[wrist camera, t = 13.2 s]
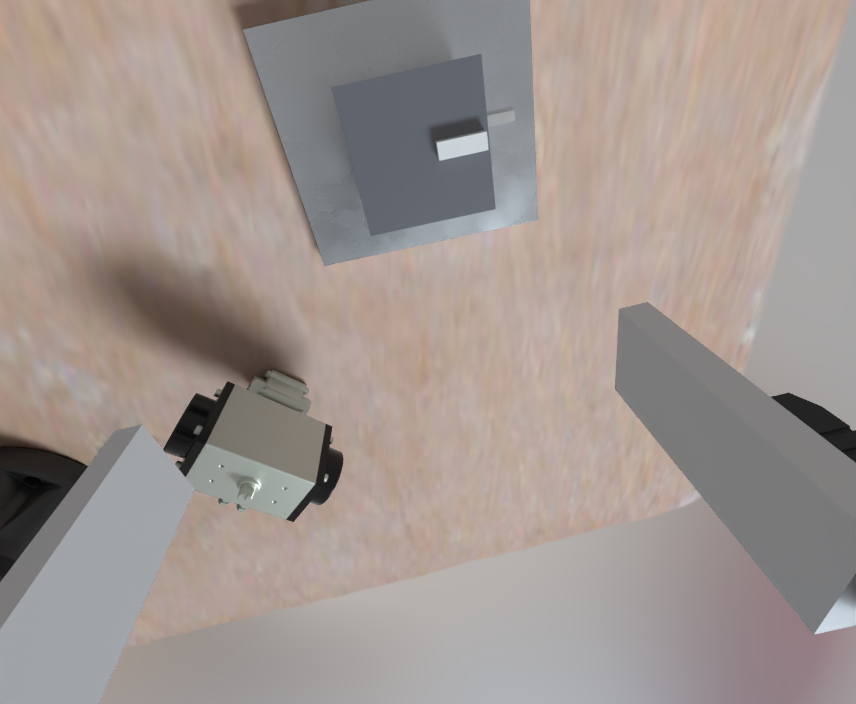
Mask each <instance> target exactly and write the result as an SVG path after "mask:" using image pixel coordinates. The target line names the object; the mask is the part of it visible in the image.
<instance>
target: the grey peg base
mask: <svg viewBox="0 0 856 704" xmlns="http://www.w3.org/2000/svg"><path fill="white" fill-rule="evenodd" d="M243 32H244V35H245V37H246V40H247V43H248V46H249V49H250V52H251V55H252V58H253V61H254V64H255V66H256V69H257V72H258V75H259V78H260V81H261V84H262V87H263V90H264V92H265V95H266V98H267V101H268V104H269V107H270V110H271V113H272V116H273V118H274V121H275V124H276V127H277V130H278V133H279V136H280V139H281V142H282V145H283V147H284V150H285V153H286V156H287V159H288V162H289V165H290V168H291V171H292V173H293V176H294V179H295V182H296V185H297V188H298V191H299V194H300V197H301V199H302V202H303V205H304V208H305V211H306V214H307V217H308V220H309V223H310V226H311V228H312V231H313V234H314V237H315V240H316V243H317V246H318V249H319V252H320V254H321V257H322V260H323V263H324V266H326V265H331V264H335V263H340V262H345V261H349V260H354V259H359V258H363V257H368V256H373V255H377V254H382V253H387V252H391V251H396V250H401V249H405V248H410V247H415V246H419V245H424V244H429V243H433V242H438V241H443V240H447V239H452V238H456V237H461V236H466V235H470V234H475V233H480V232H484V231H489V230H494V229H498V228H503V227H508V226H512V225H517V224H522V223H526V222H531V221H536V220H538V206H537V180H536V153H535V126H534V100H533V73H532V46H531V20H530V0H369V1H365V2H360V3H356V4H352V5H347V6H343V7H339V8H334V9H330V10H326V11H321V12H317V13H313V14H308V15H304V16H300V17H295V18H291V19H287V20H282V21H278V22H274V23H269V24H265V25H261V26H256V27H252V28H248V29H243ZM477 54H481V56H482V67H483V77H484V88H485V99H486V110H487V120H488V131H489V142H490V153H491V163H492V174H493V185H494V196H495V206H496V209H494V210H489V211H485V212H480V213H476V214H471V215H466V216H462V217H457V218H452V219H448V220H443V221H438V222H434V223H429V224H425V225H420V226H415V227H411V228H406V229H401V230H397V231H392V232H388V233H383V234H378V235H374V236H371V235H370V231H369V228H368V224H367V220H366V216H365V213H364V209H363V205H362V202H361V198H360V194H359V190H358V187H357V183H356V179H355V175H354V172H353V168H352V164H351V160H350V157H349V153H348V149H347V146H346V142H345V138H344V134H343V131H342V127H341V123H340V119H339V116H338V112H337V108H336V105H335V101H334V97H333V93H332V90H331V87H336V86H340V85H344V84H349V83H353V82H358V81H362V80H367V79H371V78H375V77H380V76H384V75H389V74H393V73H398V72H402V71H406V70H411V69H415V68H420V67H424V66H429V65H433V64H437V63H442V62H446V61H451V60H455V59H459V58H464V57H468V56H473V55H477Z"/></svg>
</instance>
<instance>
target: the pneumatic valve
mask: <svg viewBox="0 0 856 704" xmlns="http://www.w3.org/2000/svg"><path fill="white" fill-rule="evenodd" d="M265 376H266V377H267V379H266V380H264V379H262V378H260V377H258V376H254V378H253V379H252V381H251V383H250V384H249V386H248V388H247V389H244V388H242V387H240V386H237V385H235V384H233V383H230V382H228V381H227V383H226V385H225V386H224V388H223V390H220V389H217V391H216V392H215V394H214V396H216V397H218V398H217V400H213V399H211V398H208V397H206V396H203V395H201V394H198V393H196V394H195V395H194V397H193V398H192V400H191V402H190V403H189V405H188V407H187V408H186V410H185V412H184V413H183V415H182V417H181V419H180V420H179V422H178V424H177V425H176V427H175V429H174V431H173V432H172V434H171V436H170V438H169V440H168V441H167V443H166V445H165V447H164V449H163V450H164V452H166V453H169V454H172V455H175V456H178V457H181V458H183V461H182V462H180V461H177V462H176V464H175V465H176V466H177V468H178V469H179V470H180V471H181V472H182V474H183V475H184V476H185V477H186V479H187V480H188V481H189V482H190V483H191V485H192V486H193V487H194V488H195V491H199V492H202V493H205V494H208V495H211V496H214V497H217V498H219V500H218V501H219V504H220V505H221V506H227V505H228V504H229V503H230V502H233V503H236V504H237V509H238V510H239V511H240V512H244V511H246V510H247V509H248V508H252V509H255V510H258V511H261V512H264V513H267V514H270V515H273V516H276V517H280V518H283V519H286V520H289V521H292V522H294V521H295V519H296V518H297V517H298V516H299V515H300V514H301V512H302V511H303V510H304V509H305V508H306V506H307V505H308V504H309V503H310V502H311V503H314V504H317V505H321V504H323V503H324V502H325V501H326V500H327V499H328V498H329V497H330V495H331V494H332V492H333V490H334V488H335V486H336V484H337V482H338V480H339V477H340V474H341V471H342V466H343V454H342V453H341V452H340V451H337V450H335V449H332V448H330V447H329V445H330V444H331V443H332V442H333V439H334V438H333V437H331V432H332V426H330V425H327V424H325V423H323V422H320V421H318V420H316V419H314V418H311V417H309V416H307V413H308V411H309V408H310V405H311V401H310V400H309V399H307V398H304V397H302V396H303V394H306V393H308V392H309V390H308V388H306V385H305V384H303V383H301V382H299V381H297V380H295V379H292V378H290V377H288V376H286V375H284V374H282V373H279V372H277V371H275V370H272V371H270V370H268V371H267V373H266V374H265Z"/></svg>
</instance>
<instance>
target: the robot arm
mask: <svg viewBox="0 0 856 704" xmlns="http://www.w3.org/2000/svg"><path fill="white" fill-rule="evenodd" d="M615 390H616V391H617V392H618V393H619V395H620V396H621V397H622V398H623V400H624V401H625V402H626V403H627V404H628V406H629V407H630V408H631V409H632V411H633V412H634V413H635V414H636V416H637V417H638V418H639V419H640V421H641V422H642V423H643V424H644V425H645V427H646V428H647V429H648V430H649V432H650V433H651V434H652V435H653V437H654V438H655V439H656V440H657V442H658V443H659V444H660V445H661V446H662V448H663V449H664V450H665V451H666V453H667V454H668V455H669V456H670V458H671V459H672V460H673V461H674V463H675V464H676V465H677V466H678V468H679V469H680V470H681V471H682V472H683V474H684V475H685V476H686V477H687V479H688V480H689V481H690V482H691V484H692V485H693V486H694V487H695V489H696V490H697V491H698V492H699V493H700V495H701V496H702V497H703V498H704V500H705V501H706V502H707V503H708V504H709V506H710V507H711V508H712V510H713V511H714V512H715V513H716V514H717V516H718V517H719V518H720V519H721V521H722V522H723V523H724V524H725V525H726V527H727V528H728V529H729V530H730V532H731V533H732V534H733V535H734V537H735V538H736V539H737V540H738V542H739V543H740V544H741V545H742V547H743V548H744V549H745V550H746V552H747V553H748V554H749V555H750V556H751V558H752V559H753V560H754V561H755V563H756V564H757V565H758V566H759V568H760V569H761V570H762V571H763V573H764V574H765V575H766V576H767V578H768V579H769V580H770V581H771V582H772V584H773V585H774V586H775V587H776V589H777V590H778V591H779V592H780V594H781V595H782V596H783V597H784V599H785V600H786V601H787V602H788V603H789V605H790V606H791V607H792V608H793V610H794V611H795V612H796V613H797V615H798V616H799V617H800V618H801V620H802V621H803V622H804V623H805V624H806V626H807V627H808V628H809V629H810V631H811V632H812V633H813V634H818V633H823V632H827V631H832V630H836V629H840V628H845V627H850V626H854V625H856V431H852V430H851V429H850V426H849V425H847V424H846V423H844V422H843V421H841V420H840V419H839V418H837V417H836V416H834V415H833V414H832V413H830V412H829V411H827V410H826V409H825V408H823V407H821V406H819V405H817V404H814V403H812V402H809V401H807V400H805V399H802V398H800V397H797V396H795V395H793V394H790V393H786V394H782V395H778V396H773V397H770V396H768V395H767V394H766V393H764V392H763V391H762V390H761V389H760V388H758V387H757V386H756V385H754V384H753V383H752V382H750V381H749V380H748V379H747V378H745V377H744V376H743V375H741V374H740V373H739V372H737V371H736V370H735V369H734V368H732V367H731V366H730V365H728V364H727V363H726V362H725V361H723V360H722V359H721V358H719V357H718V356H717V355H715V354H714V353H713V352H712V351H710V350H709V349H708V348H706V347H705V346H704V345H703V344H701V343H700V342H699V341H697V340H696V339H695V338H693V337H692V336H691V335H690V334H688V333H687V332H686V331H684V330H683V329H682V328H680V327H679V326H678V325H677V324H675V323H674V322H673V321H671V320H670V319H669V318H668V317H666V316H665V315H664V314H662V313H661V312H660V311H658V310H657V309H656V308H655V307H653V306H652V305H651V304H649V303H648V302H646V303H642V304H638V305H634V306H630V307H625V308H621V309H619V320H618V339H617V359H616V378H615ZM194 490H195V488H194V487H193V486H192V485H191V483H190V482H189V481H188V480H187V479H186V477H185V476H184V475H183V474H182V472H181V471H180V470H179V469H178V468H177V466H176V465H175V464H174V463H173V461H172V460H171V459H170V458H169V457H168V455H167V454H166V453H165V452H164V450H163V449H162V448H161V447H160V446H159V444H158V443H157V442H156V441H155V440H154V438H153V437H152V436H151V435H150V433H149V432H148V431H147V430H146V429H145V427H144V426H143V425H138V426H134V427H130V428H126V429H122V430H117V431H115V432H114V433H113V434H112V436H111V437H110V438H109V440H108V441H107V442H106V444H105V445H104V446H103V448H102V449H101V450H100V452H99V453H98V454H97V456H96V457H95V458H94V459H93V461H92V462H91V463H90V465H89V466H88V467H87V468H86V467H84V466H82V465H80V464H78V463H76V462H74V461H72V460H69V459H67V458H64V457H61V456H58V455H55V454H51V453H48V452H44V451H39V450H34V449H28V448H18V447H0V704H99V702H100V700H101V697H102V695H103V693H104V691H105V688H106V686H107V684H108V682H109V680H110V677H111V675H112V673H113V671H114V668H115V666H116V664H117V661H118V659H119V657H120V655H121V653H122V651H123V648H124V646H125V644H126V642H127V639H128V637H129V635H130V633H131V631H132V628H133V626H134V624H135V622H136V619H137V617H138V615H139V613H140V610H141V608H142V606H143V604H144V602H145V599H146V597H147V595H148V593H149V590H150V588H151V586H152V584H153V581H154V579H155V577H156V575H157V573H158V570H159V568H160V566H161V564H162V561H163V559H164V557H165V555H166V552H167V550H168V548H169V546H170V544H171V541H172V539H173V537H174V535H175V532H176V530H177V528H178V526H179V523H180V521H181V519H182V517H183V515H184V512H185V510H186V508H187V506H188V503H189V501H190V499H191V497H192V494H193V492H194Z"/></svg>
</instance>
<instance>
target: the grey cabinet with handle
mask: <svg viewBox="0 0 856 704" xmlns="http://www.w3.org/2000/svg"><path fill="white" fill-rule="evenodd" d="M331 90H332V93H333V97H334V101H335V105H336V108H337V112H338V116H339V119H340V123H341V127H342V131H343V134H344V138H345V142H346V146H347V149H348V153H349V157H350V160H351V164H352V168H353V172H354V175H355V179H356V183H357V187H358V190H359V194H360V198H361V202H362V205H363V209H364V213H365V216H366V220H367V224H368V228H369V231H370V235H371V236H374V235H378V234H383V233H388V232H392V231H397V230H401V229H406V228H411V227H415V226H420V225H425V224H429V223H434V222H438V221H443V220H448V219H452V218H457V217H462V216H466V215H471V214H476V213H480V212H485V211H489V210H494V209H496V206H495V196H494V185H493V174H492V163H491V153H490V142H489V131H488V120H487V110H486V99H485V88H484V77H483V67H482V56H481V54H477V55H473V56H468V57H464V58H459V59H455V60H451V61H446V62H442V63H437V64H433V65H429V66H424V67H420V68H415V69H411V70H406V71H402V72H398V73H393V74H389V75H384V76H380V77H375V78H371V79H367V80H362V81H358V82H353V83H349V84H344V85H340V86H336V87H331Z"/></svg>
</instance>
